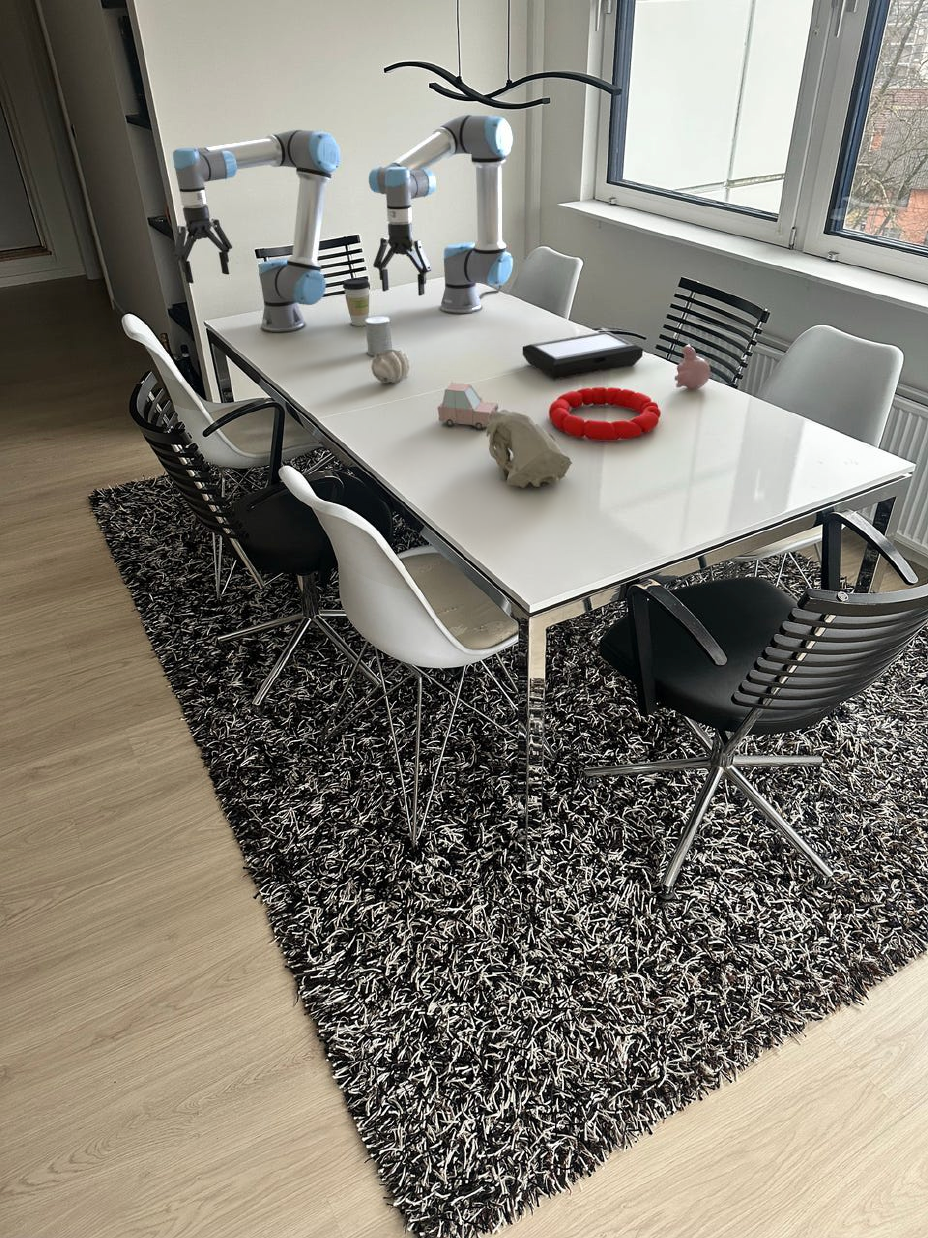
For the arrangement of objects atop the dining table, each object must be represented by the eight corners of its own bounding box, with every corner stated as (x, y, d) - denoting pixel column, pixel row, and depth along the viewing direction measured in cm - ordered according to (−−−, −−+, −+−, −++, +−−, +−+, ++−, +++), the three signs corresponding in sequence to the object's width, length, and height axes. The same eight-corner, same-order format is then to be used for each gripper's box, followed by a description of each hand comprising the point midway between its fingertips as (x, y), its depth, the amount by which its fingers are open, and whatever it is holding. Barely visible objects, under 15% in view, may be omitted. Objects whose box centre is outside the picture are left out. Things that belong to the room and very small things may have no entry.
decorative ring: (589, 435, 224) (684, 402, 234) (527, 398, 247) (617, 369, 256) (589, 461, 229) (683, 427, 238) (529, 422, 251) (617, 393, 260)
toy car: (488, 432, 240) (488, 396, 234) (436, 426, 244) (434, 390, 239) (499, 419, 247) (499, 384, 241) (448, 413, 252) (447, 379, 246)
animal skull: (496, 517, 219) (521, 479, 201) (463, 429, 225) (484, 384, 207) (557, 503, 225) (586, 465, 206) (523, 417, 231) (549, 373, 212)
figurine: (665, 387, 264) (669, 347, 257) (693, 380, 268) (698, 340, 261) (686, 396, 257) (690, 355, 250) (714, 388, 262) (720, 348, 255)
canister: (364, 355, 296) (361, 322, 290) (372, 348, 303) (370, 315, 297) (387, 357, 295) (385, 323, 288) (395, 349, 301) (393, 316, 295)
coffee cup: (372, 326, 323) (368, 283, 314) (345, 327, 323) (340, 284, 315) (374, 318, 331) (371, 276, 322) (348, 319, 331) (344, 277, 323)
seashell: (364, 381, 275) (361, 349, 270) (407, 372, 281) (405, 341, 275) (377, 391, 268) (374, 358, 262) (421, 382, 273) (420, 349, 268)
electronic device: (553, 362, 266) (522, 343, 282) (552, 382, 270) (522, 363, 285) (643, 345, 277) (609, 328, 292) (641, 365, 280) (607, 347, 295)
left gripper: (166, 213, 261) (181, 288, 273) (235, 200, 276) (247, 271, 288) (152, 210, 265) (167, 284, 277) (221, 197, 280) (233, 268, 292)
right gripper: (359, 221, 281) (364, 291, 293) (428, 227, 271) (431, 298, 283) (372, 217, 286) (376, 286, 298) (440, 222, 277) (442, 293, 289)
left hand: (208, 278), depth 283 cm, fingers open, 13 cm apart
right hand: (403, 292), depth 291 cm, fingers open, 13 cm apart
